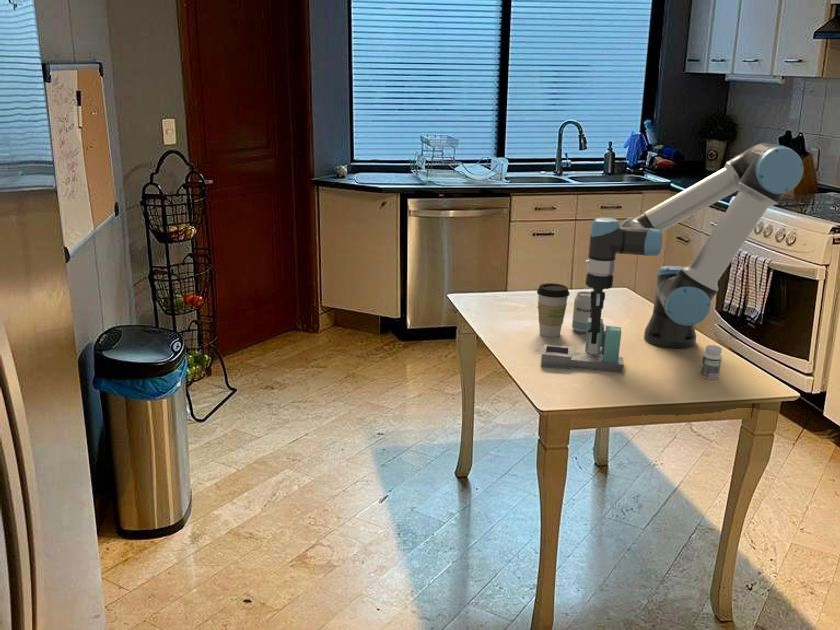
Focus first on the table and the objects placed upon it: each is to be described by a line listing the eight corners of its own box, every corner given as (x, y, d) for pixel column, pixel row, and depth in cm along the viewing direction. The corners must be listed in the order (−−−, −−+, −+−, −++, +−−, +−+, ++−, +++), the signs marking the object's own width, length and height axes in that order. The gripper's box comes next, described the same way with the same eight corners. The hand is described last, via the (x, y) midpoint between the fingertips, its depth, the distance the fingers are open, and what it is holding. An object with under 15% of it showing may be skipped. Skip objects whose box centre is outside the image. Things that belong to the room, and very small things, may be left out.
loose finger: (601, 348, 234) (604, 319, 232) (601, 352, 230) (604, 323, 228) (585, 346, 235) (588, 317, 233) (585, 351, 231) (588, 321, 229)
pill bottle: (704, 371, 218) (708, 343, 216) (721, 376, 215) (725, 347, 213) (697, 376, 215) (701, 347, 212) (715, 381, 212) (719, 351, 209)
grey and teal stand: (621, 364, 222) (626, 325, 219) (622, 374, 215) (627, 334, 211) (542, 356, 226) (545, 318, 223) (540, 366, 219) (544, 326, 215)
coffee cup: (565, 340, 240) (569, 292, 236) (532, 337, 242) (536, 289, 237) (566, 330, 249) (570, 284, 245) (534, 327, 251) (538, 281, 247)
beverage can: (571, 333, 247) (574, 295, 243) (572, 326, 253) (575, 290, 250) (593, 335, 245) (597, 298, 242) (594, 328, 252) (598, 292, 248)
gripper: (586, 263, 236) (579, 336, 243) (586, 280, 217) (578, 359, 224) (612, 265, 235) (604, 339, 242) (614, 282, 216) (605, 361, 223)
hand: (592, 348), depth 233 cm, fingers open, 7 cm apart
